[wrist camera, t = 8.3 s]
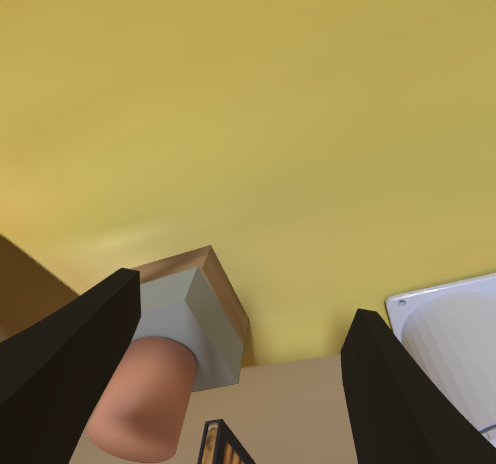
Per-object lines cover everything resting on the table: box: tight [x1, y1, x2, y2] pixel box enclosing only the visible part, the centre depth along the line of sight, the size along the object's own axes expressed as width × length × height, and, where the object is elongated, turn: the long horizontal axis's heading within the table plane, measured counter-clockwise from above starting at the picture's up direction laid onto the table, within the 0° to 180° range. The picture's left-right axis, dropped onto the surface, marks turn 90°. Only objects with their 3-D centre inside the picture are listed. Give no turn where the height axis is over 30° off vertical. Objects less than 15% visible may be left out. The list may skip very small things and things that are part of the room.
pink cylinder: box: [87, 336, 198, 463], centre depth 18 cm, size 4×4×4 cm
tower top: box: [131, 267, 244, 392], centre depth 21 cm, size 7×7×3 cm
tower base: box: [131, 245, 249, 347], centre depth 24 cm, size 7×7×3 cm
